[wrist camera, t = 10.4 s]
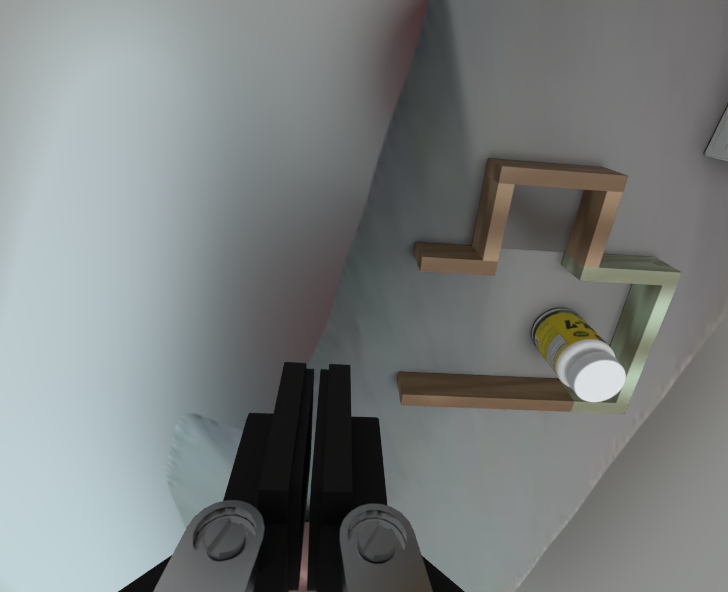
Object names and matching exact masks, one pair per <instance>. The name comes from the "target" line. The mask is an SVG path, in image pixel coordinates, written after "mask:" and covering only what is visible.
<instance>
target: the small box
mask: <svg viewBox="0 0 728 592" xmlns="http://www.w3.org/2000/svg"><path fill="white" fill-rule="evenodd" d="M704 155H705V156H708V157H712V158H716V159H720V160H724V161H728V107H727V109H726V111H725V113H724V115H723V117H722V119H721V121H720V123H719V125H718V127H717V129H716V131H715V133H714V135H713V137H712V140H711V142H710V144H709V146H708V148H707V150H706V152H705V154H704Z"/></svg>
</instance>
